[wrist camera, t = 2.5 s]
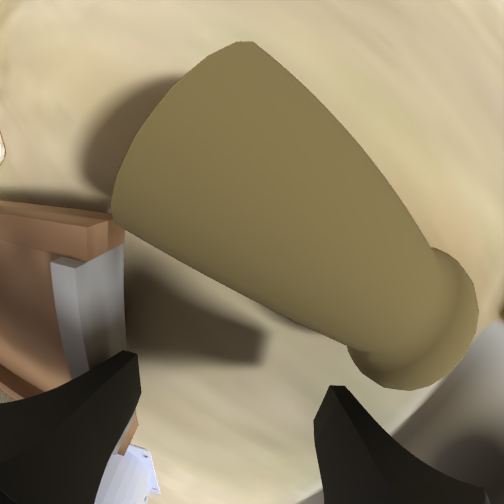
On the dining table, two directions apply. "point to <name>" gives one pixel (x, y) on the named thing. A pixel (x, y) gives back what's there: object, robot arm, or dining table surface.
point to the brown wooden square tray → (59, 298)
